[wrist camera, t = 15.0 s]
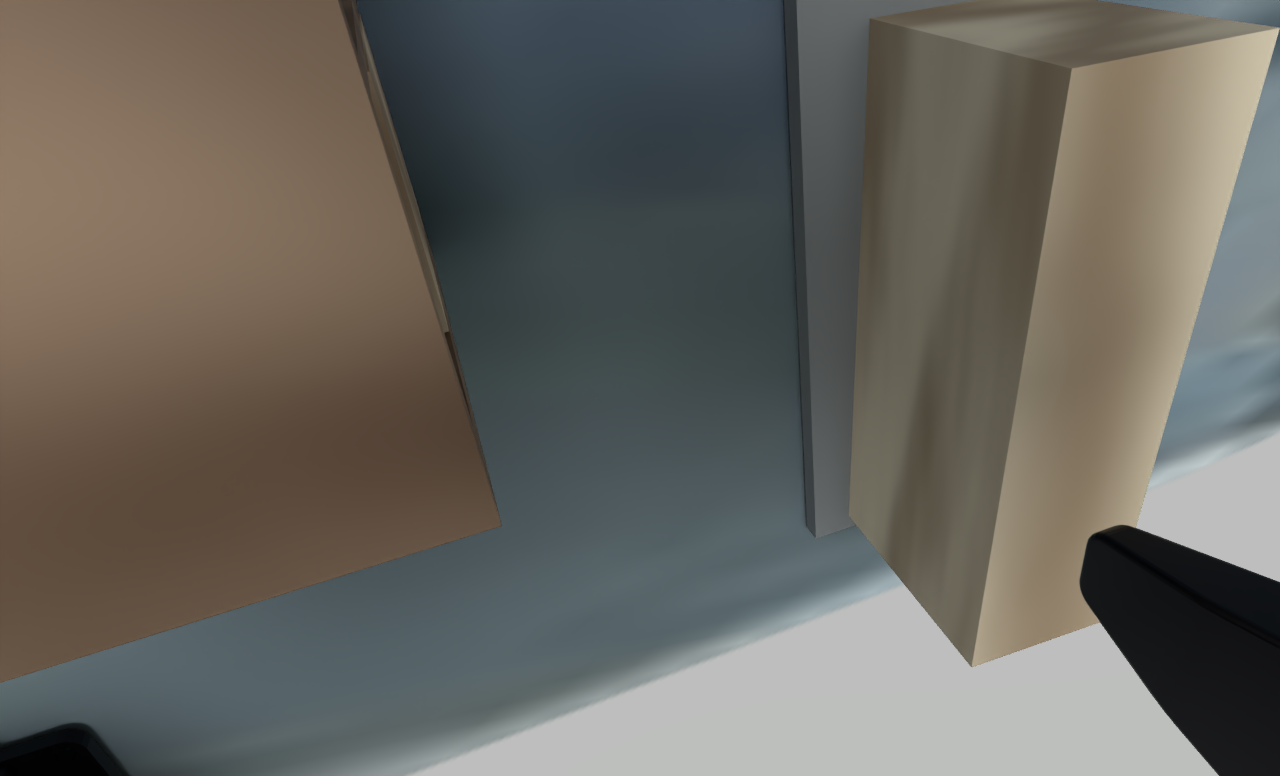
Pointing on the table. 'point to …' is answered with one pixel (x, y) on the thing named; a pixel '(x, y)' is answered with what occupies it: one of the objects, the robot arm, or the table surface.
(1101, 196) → the block
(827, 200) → the pad
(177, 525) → the brown storage crate
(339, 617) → the table surface
